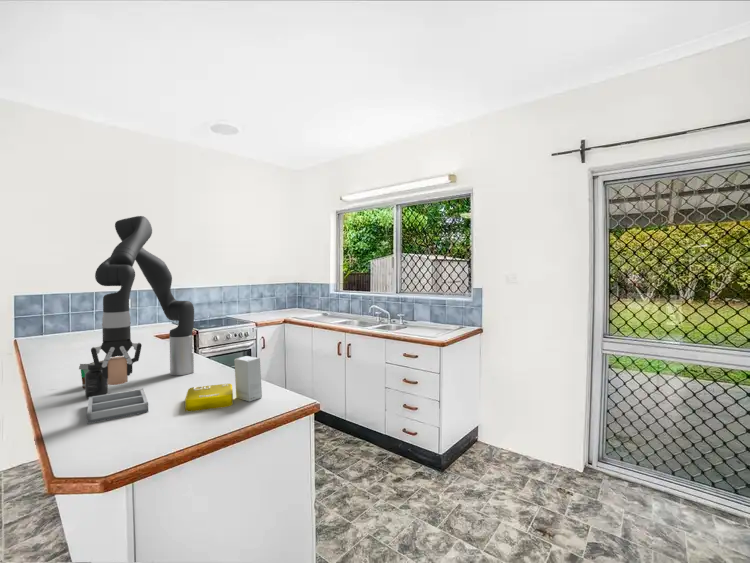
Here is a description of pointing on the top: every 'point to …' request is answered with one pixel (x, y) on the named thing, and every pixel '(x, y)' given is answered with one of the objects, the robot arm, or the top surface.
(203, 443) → the top surface
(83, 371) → the food container
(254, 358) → the skincare box
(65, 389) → the top surface
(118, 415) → the rack
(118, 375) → the peach rounded capsule
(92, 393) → the supplement bottle
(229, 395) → the element tile
